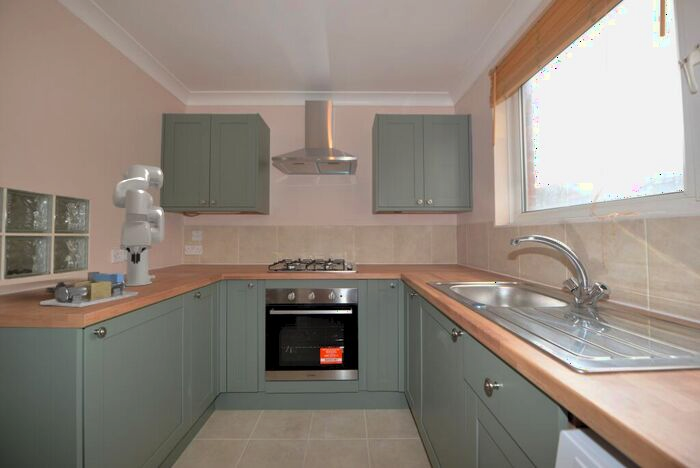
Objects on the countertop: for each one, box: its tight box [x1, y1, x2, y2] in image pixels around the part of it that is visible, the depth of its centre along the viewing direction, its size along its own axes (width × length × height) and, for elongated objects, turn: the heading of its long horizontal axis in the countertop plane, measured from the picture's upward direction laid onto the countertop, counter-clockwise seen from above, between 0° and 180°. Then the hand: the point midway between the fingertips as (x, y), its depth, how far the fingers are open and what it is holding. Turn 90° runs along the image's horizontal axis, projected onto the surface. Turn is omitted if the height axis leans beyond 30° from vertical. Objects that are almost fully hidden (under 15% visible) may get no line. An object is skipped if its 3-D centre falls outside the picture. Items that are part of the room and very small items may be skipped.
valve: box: [45, 281, 75, 292], centre depth 137 cm, size 6×26×15 cm
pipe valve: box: [39, 280, 139, 308], centre depth 122 cm, size 24×18×7 cm
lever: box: [87, 271, 125, 282], centre depth 121 cm, size 15×4×4 cm, turn 79°
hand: (135, 263), depth 124 cm, fingers closed
